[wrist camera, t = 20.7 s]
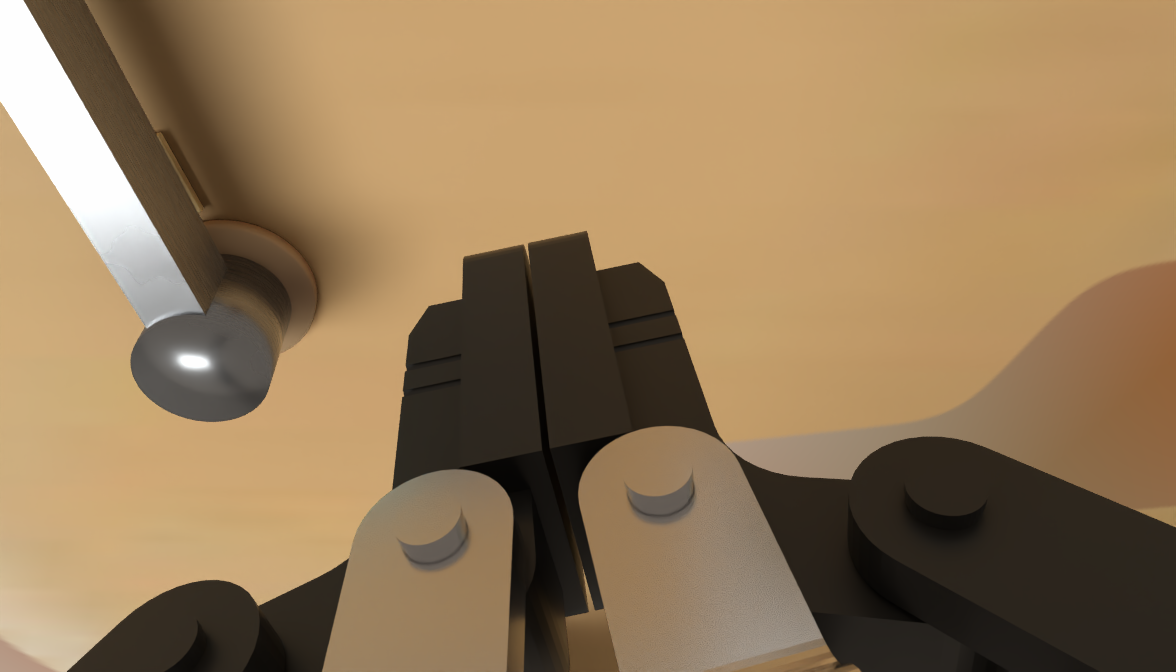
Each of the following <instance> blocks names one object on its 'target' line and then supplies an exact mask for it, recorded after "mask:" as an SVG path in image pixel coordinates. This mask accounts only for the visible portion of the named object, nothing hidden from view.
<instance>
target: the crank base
mask: <svg viewBox="0 0 1176 672" xmlns="http://www.w3.org/2000/svg"><path fill="white" fill-rule="evenodd" d="M156 135H157V137H158V139H159V141H160V142H161V144H162V146H163V148H164V150H165V152H166V154H167V155H168V157H169V159H170V161H171V163H172V165H173V167H174V169H175V170H176V172H177V174H178V176H179V178H180V180H181V182H182V183H183V185H184V187H185V189H186V191H187V193H188V195H189V197H190V198H191V200H192V202H193V204H194V206H195V208H196V210H197V211H198V213H199V212H202V210H203V206H202V204H201V203H200V201H199V199H198V197H197V195H196V194H195V192H194V190H193V188H192V187H191V185H190V183H189V181H188V179H187V178H186V176H185V174H184V172H183V171H182V169H181V167H180V165H179V163H178V162H177V160H176V158H175V156H174V154H173V153H172V151H171V149H170V147H169V146H168V144H167V142H166V140H165V138H164V137H163V135H162V133H161V132H159V133H156ZM203 223H204V225H205V226H206V228H207V230H208V232H209V234H210V236H211V238H212V239H213V241H214V243H215V245H216V247H217V249H218V251H219V253H220V254H230V255H236V256H240V257H244V258H247V259H249V260H252V261H254V262H256V263H258V264H260V265H262V266H263V267H265V268H266V269H268V270H269V271H270V272H272V273H273V274H274V275H275V276H276V277H277V278H278V279H279V280H280V282H281V283H282V284H283V285H284V287H285V289H286V291H287V293H288V295H289V298H290V301H291V308H292V312H291V319H290V322H289V326H288V329H287V332H286V335H285V338H284V342H283V345H282V348H281V351H280V353H282V352H285V351H286V350H288V349H290V348H291V347H293V346H294V345H295V344H297V343H298V342H299V341H300V340H301V339H302V338H303V337H304V336H305V334H306V333H307V331H308V330H309V328H310V326H311V323H312V321H313V317H314V314H315V310H316V306H317V298H318V293H317V285H316V281H315V278H314V275H313V273H312V270H311V269H310V267H309V265H308V264H307V262H306V261H305V259H304V258H303V257H302V255H301V254H300V253H299V252H298V251H297V250H296V249H295V248H294V247H293V246H292V245H291V244H289V243H288V242H287V241H286V240H284V239H283V238H281V237H279V236H278V235H276V234H275V233H273V232H271V231H269V230H267V229H264V228H262V227H259V226H256V225H253V224H249V223H246V222H241V221H234V220H210V221H205V222H203Z"/></svg>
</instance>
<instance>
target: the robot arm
mask: <svg viewBox="0 0 1176 672" xmlns="http://www.w3.org/2000/svg"><path fill="white" fill-rule="evenodd" d="M528 250H529V260H530V264H529V260H528V256H527V253H526V250H525V247H524V245H518V246H513V247H509V248H504V249H499V250H494V251H489V252H485V253H480V254H475V255H470V256H465V257H464V259H463V290H462V299H461V300H456V301H451V302H446V303H442V304H437V305H432V306H429V307H428V308H427V310H426V311H425V313H424V314H423V316H422V317H421V318H420V320H419V321H418V323H417V324H416V326H415V327H414V329H413V330H412V332H411V333H410V335H409V339H408V349H407V358H406V368H407V371H405V377H404V386H403V392H404V397H402V404H401V414H400V423H399V432H398V442H397V451H396V460H395V470H394V479H393V488H392V491H390V492H389V493H388V494H386V495H385V496H384V497H383V498H381V499H380V500H379V501H378V502H377V503H376V504H375V505H374V506H373V507H372V508H371V509H370V511H369V512H368V513H367V515H366V516H365V517H364V519H363V520H362V522H361V524H360V526H359V528H358V529H357V532H356V535H355V538H354V541H353V544H352V548H351V552H350V557H349V559H347V560H346V561H344V562H343V563H341V564H340V565H339V566H337V567H336V568H334V569H332V570H331V571H329V572H327V573H325V574H323V575H321V576H320V577H318V578H316V579H314V580H311V581H309V582H307V583H305V584H303V585H301V586H299V587H297V588H295V589H293V590H291V591H289V592H287V593H285V594H282V595H280V596H278V597H276V598H274V599H272V600H270V601H268V602H266V603H264V604H262V605H260V606H258V605H257V604H256V602H255V601H254V599H253V598H252V597H251V595H250V594H249V593H248V592H247V591H246V590H244V589H243V588H242V587H240V586H238V585H236V584H233V583H231V582H226V581H220V580H205V581H198V582H192V583H189V584H185V585H182V586H179V587H176V588H174V589H171V590H169V591H166V592H164V593H162V594H160V595H158V596H157V597H155V598H153V599H151V600H149V601H148V602H146V603H145V604H143V605H142V606H140V607H139V608H137V609H136V610H135V611H133V612H132V613H131V614H130V615H128V616H127V617H126V618H125V619H124V620H122V621H121V622H120V623H119V624H118V625H117V626H116V627H115V628H114V629H113V630H111V631H110V632H109V633H108V634H107V635H106V636H105V637H104V638H103V639H102V640H101V641H99V642H98V643H97V644H96V645H95V646H94V647H93V648H92V649H91V650H90V651H89V652H88V653H86V654H85V655H84V656H83V657H82V658H81V659H80V660H79V661H78V662H77V663H76V664H75V665H73V666H72V667H71V668H70V669H69V670H68V671H67V672H569V670H570V663H569V649H568V639H567V630H566V620H565V617H567V616H572V615H577V614H582V613H587V612H589V611H588V603H587V596H586V588H585V580H584V573H585V576H586V580H587V583H588V587H589V590H590V594H591V598H592V601H593V605H594V608H595V610H600V609H605V613H606V617H607V622H608V626H609V630H610V634H611V638H612V642H613V646H614V651H615V655H616V659H617V663H618V667H619V671H620V672H1176V527H1173V526H1171V525H1169V524H1166V523H1164V522H1161V521H1159V520H1157V519H1154V518H1152V517H1150V516H1147V515H1145V514H1142V513H1140V512H1138V511H1135V510H1133V509H1131V508H1128V507H1126V506H1123V505H1121V504H1119V503H1116V502H1113V501H1111V500H1109V499H1107V498H1104V497H1102V496H1100V495H1097V494H1095V493H1093V492H1090V491H1088V490H1085V489H1083V488H1081V487H1078V486H1076V485H1073V484H1071V483H1068V482H1066V481H1064V480H1062V479H1059V478H1057V477H1055V476H1052V475H1050V474H1047V473H1045V472H1043V471H1040V470H1038V469H1036V468H1033V467H1031V466H1028V465H1026V464H1024V463H1021V462H1019V461H1017V460H1014V459H1012V458H1009V457H1007V456H1005V455H1002V454H1000V453H998V452H995V451H993V450H990V449H988V448H985V447H983V446H980V445H977V444H974V443H971V442H967V441H963V440H959V439H952V438H945V437H917V438H909V439H904V440H900V441H896V442H893V443H891V444H888V445H886V446H883V447H881V448H879V449H878V450H876V451H875V452H873V453H871V454H870V455H869V456H868V457H867V458H866V459H864V460H863V461H862V462H861V464H860V465H859V466H858V468H857V469H856V470H855V472H854V474H853V477H852V479H851V480H844V479H843V480H842V479H826V478H808V477H797V476H788V475H783V474H779V473H774V472H771V471H768V470H765V469H762V468H759V467H757V466H755V465H753V464H751V463H749V462H747V461H745V460H744V459H742V458H741V457H739V456H738V455H737V454H735V453H734V452H733V451H732V450H731V449H730V448H728V446H727V445H726V444H725V443H724V442H723V440H722V439H721V438H720V436H719V434H718V432H717V430H716V428H715V426H714V423H713V420H712V417H711V415H710V412H709V409H708V406H707V403H706V400H705V397H704V394H703V392H702V389H701V386H700V383H699V380H698V377H697V374H696V372H695V369H694V366H693V363H692V360H691V357H690V354H689V352H688V349H687V346H686V343H685V340H684V339H683V336H682V332H681V329H680V326H679V323H678V320H677V317H676V315H675V313H674V309H673V306H672V303H671V300H670V297H669V294H668V292H667V289H666V286H665V283H664V282H663V281H662V280H661V279H660V278H658V277H657V276H656V275H654V274H653V273H652V272H651V271H649V270H648V269H647V268H645V267H644V266H643V265H642V264H640V263H639V262H637V263H632V264H628V265H623V266H618V267H613V268H608V269H604V270H599V271H596V268H595V264H594V259H593V255H592V251H591V246H590V242H589V238H588V233H587V231H584V232H579V233H575V234H570V235H565V236H560V237H555V238H551V239H546V240H541V241H536V242H531V243H528ZM583 569H584V573H583Z"/></svg>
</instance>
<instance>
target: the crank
mask: <svg viewBox="0 0 1176 672" xmlns="http://www.w3.org/2000/svg"><path fill="white" fill-rule="evenodd" d="M0 100H1V102H2V103H3V105H4V107H5V108H6V110H7V111H8V113H9V114H10V116H11V118H12V119H13V121H14V122H15V124H16V125H17V127H18V128H19V130H20V132H21V133H22V135H23V136H24V138H25V139H26V141H27V143H28V144H29V146H30V147H31V149H32V150H33V152H34V153H35V155H36V157H37V158H38V160H39V161H40V163H41V164H42V166H43V168H44V169H45V171H46V172H47V174H48V175H49V177H50V178H51V180H52V182H53V183H54V185H55V186H56V188H57V189H58V191H59V193H60V194H61V196H62V197H63V199H64V200H65V202H66V203H67V205H68V207H69V208H70V210H71V211H72V213H73V214H74V216H75V218H76V219H77V221H78V222H79V224H80V225H81V227H82V228H83V230H84V232H85V233H86V235H87V236H88V238H89V239H90V241H91V243H92V244H93V246H94V247H95V249H96V250H97V252H98V253H99V255H100V257H101V258H102V260H103V261H104V263H105V264H106V266H107V268H108V269H109V271H110V272H111V274H112V275H113V277H114V278H115V280H116V282H117V283H118V285H119V286H120V288H121V289H122V291H123V293H124V294H125V296H126V297H127V299H128V300H129V302H130V303H131V305H132V307H133V308H134V310H135V311H136V313H137V314H138V316H139V318H140V319H141V321H142V322H143V324H144V325H145V328H144V330H143V331H142V333H141V335H140V337H139V339H138V340H137V342H136V344H135V346H134V348H133V351H132V354H131V370H132V374H133V377H134V379H135V381H136V383H137V385H138V386H139V388H140V389H141V390H142V392H143V393H144V394H145V395H146V396H147V397H148V398H149V399H150V400H152V401H153V402H154V403H155V404H157V405H158V406H160V407H161V408H163V409H165V410H167V411H169V412H171V413H173V414H175V415H178V416H181V417H184V418H187V419H192V420H196V421H205V422H219V421H227V420H232V419H236V418H239V417H241V416H244V415H246V414H248V413H249V412H251V411H253V410H254V409H255V408H257V407H258V406H259V405H260V404H261V403H262V401H263V400H264V398H265V397H266V394H267V392H268V390H269V386H270V383H271V380H272V377H273V374H274V370H275V367H276V364H277V361H278V358H279V354H280V351H281V348H282V345H283V342H284V338H285V335H286V332H287V329H288V326H289V322H290V319H291V312H292V308H291V301H290V298H289V295H288V293H287V291H286V289H285V287H284V285H283V284H282V283H281V282H280V280H279V279H278V278H277V277H276V276H275V275H274V274H273V273H272V272H270V271H269V270H268V269H266V268H265V267H263V266H262V265H260V264H258V263H256V262H254V261H252V260H249V259H247V258H244V257H240V256H236V255H230V254H220V253H219V251H218V249H217V247H216V245H215V243H214V241H213V239H212V238H211V236H210V234H209V232H208V230H207V228H206V226H205V225H204V223H203V221H202V219H201V217H200V215H199V213H198V211H197V210H196V208H195V206H194V204H193V202H192V200H191V198H190V197H189V195H188V193H187V191H186V189H185V187H184V185H183V183H182V182H181V180H180V178H179V176H178V174H177V172H176V170H175V169H174V167H173V165H172V163H171V161H170V159H169V157H168V155H167V154H166V152H165V150H164V148H163V146H162V144H161V142H160V141H159V139H158V137H157V135H156V133H155V131H154V129H153V127H152V126H151V124H150V122H149V120H148V118H147V116H146V114H145V113H144V111H143V109H142V107H141V105H140V103H139V101H138V99H137V98H136V96H135V94H134V92H133V90H132V88H131V86H130V84H129V83H128V81H127V79H126V77H125V75H124V73H123V71H122V70H121V68H120V66H119V64H118V62H117V60H116V58H115V56H114V55H113V53H112V51H111V49H110V47H109V45H108V43H107V42H106V40H105V38H104V36H103V34H102V32H101V30H100V28H99V27H98V25H97V23H96V21H95V19H94V17H93V15H92V14H91V12H90V10H89V8H88V6H87V4H86V2H85V0H0Z"/></svg>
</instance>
